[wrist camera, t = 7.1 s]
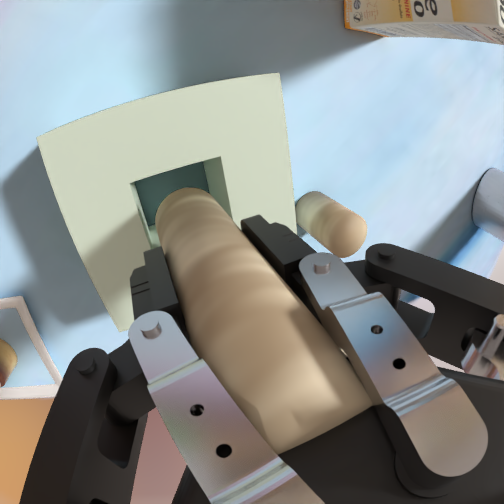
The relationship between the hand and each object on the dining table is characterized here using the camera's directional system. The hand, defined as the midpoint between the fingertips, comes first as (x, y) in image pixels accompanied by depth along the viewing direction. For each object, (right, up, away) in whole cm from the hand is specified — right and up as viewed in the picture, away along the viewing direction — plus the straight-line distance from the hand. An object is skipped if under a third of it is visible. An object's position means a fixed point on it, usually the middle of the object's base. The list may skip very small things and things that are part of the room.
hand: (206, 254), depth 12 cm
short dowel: (+6, +3, +13) cm, 15 cm away
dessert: (-21, -9, +8) cm, 24 cm away
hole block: (-3, +4, +8) cm, 9 cm away
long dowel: (-1, +2, +3) cm, 4 cm away
